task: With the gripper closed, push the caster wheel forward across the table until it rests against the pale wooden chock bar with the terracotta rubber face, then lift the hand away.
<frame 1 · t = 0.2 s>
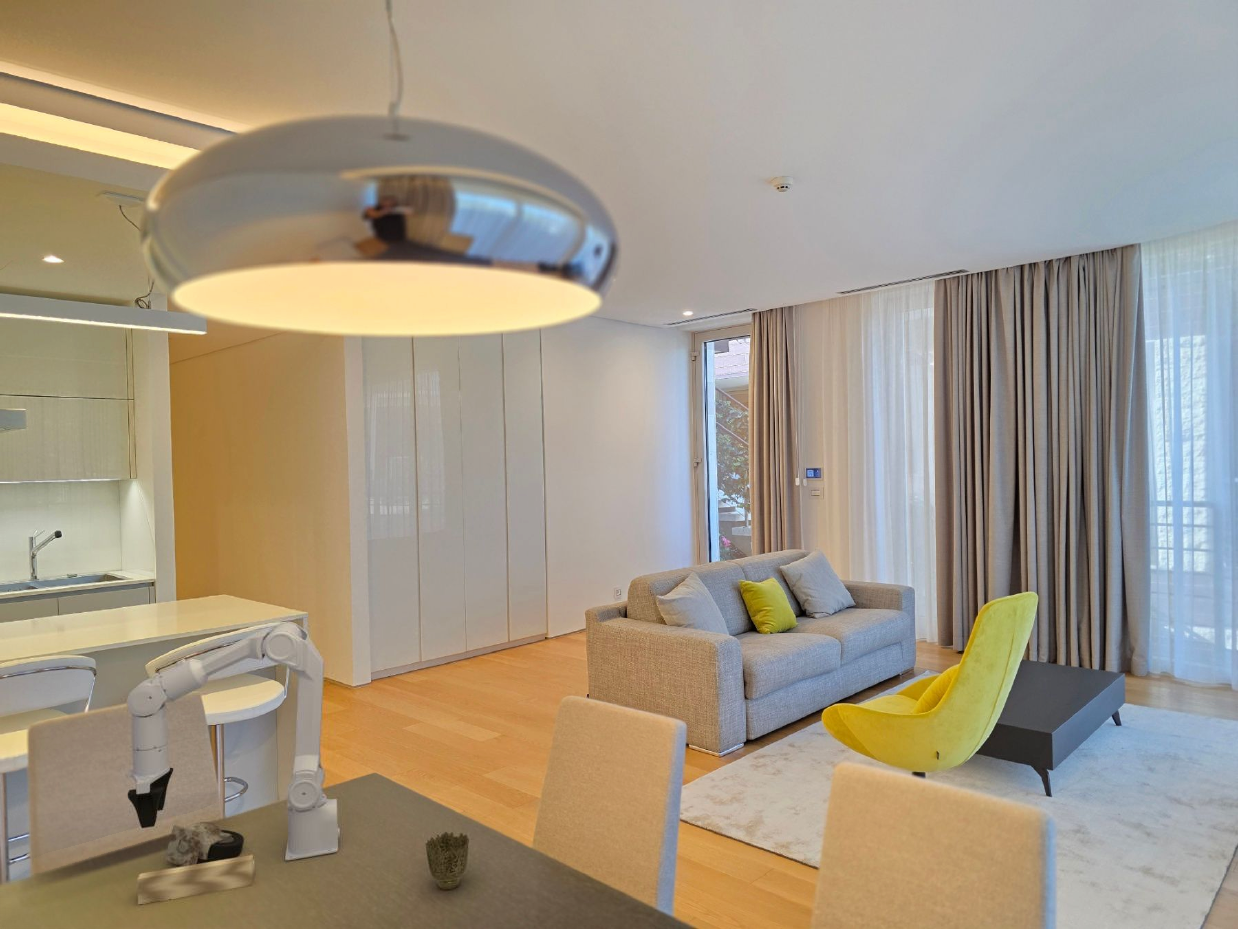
hand: (152, 818, 153), 10 cm above the table, tool pointing down, fingers open, 7 cm apart
cup: (448, 887, 144), on the table
chock bar: (198, 889, 146), on the table
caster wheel: (210, 858, 158), on the table
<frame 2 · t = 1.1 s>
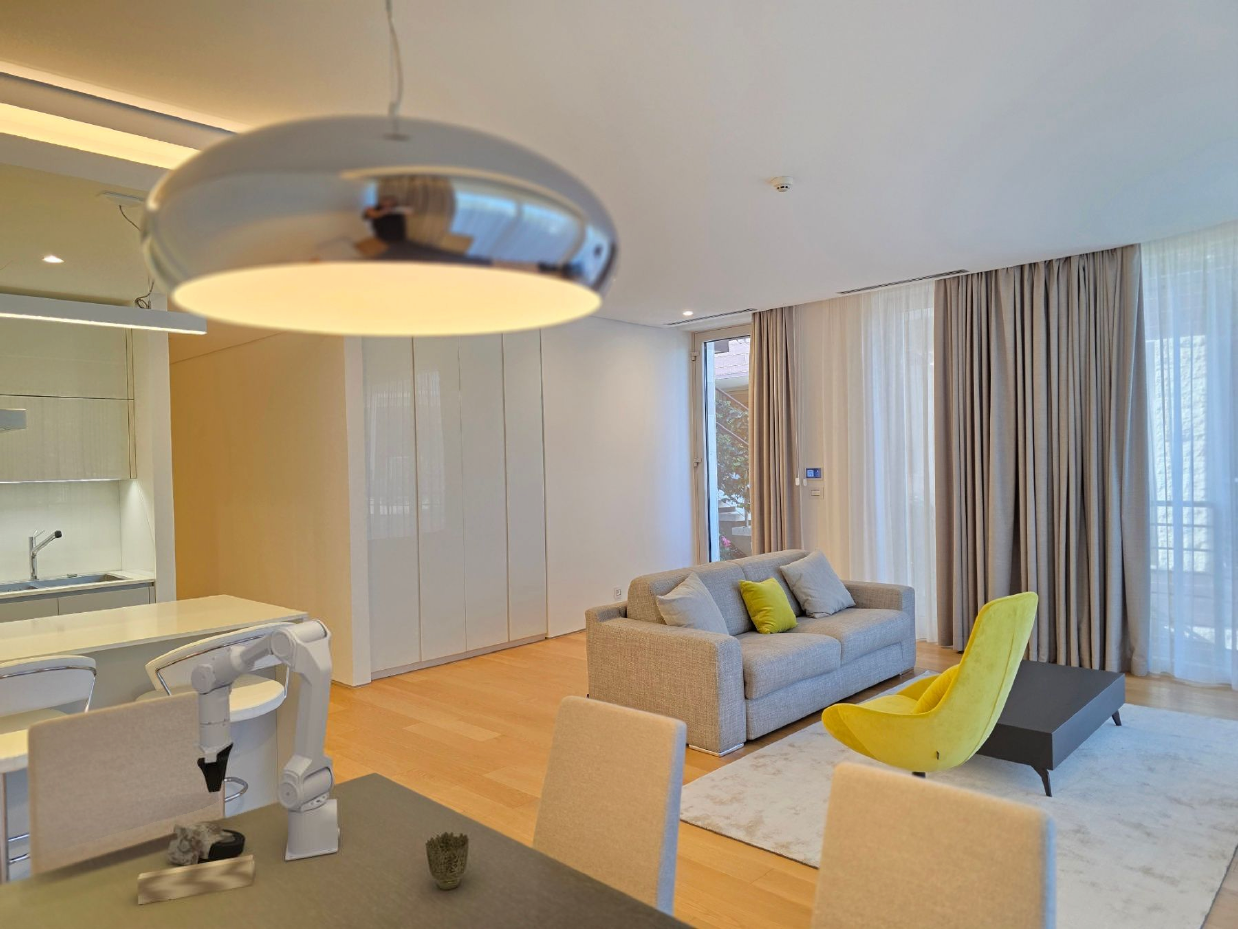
hand: (216, 786, 169), 9 cm above the table, tool pointing down, fingers open, 5 cm apart
nothing on the table moved.
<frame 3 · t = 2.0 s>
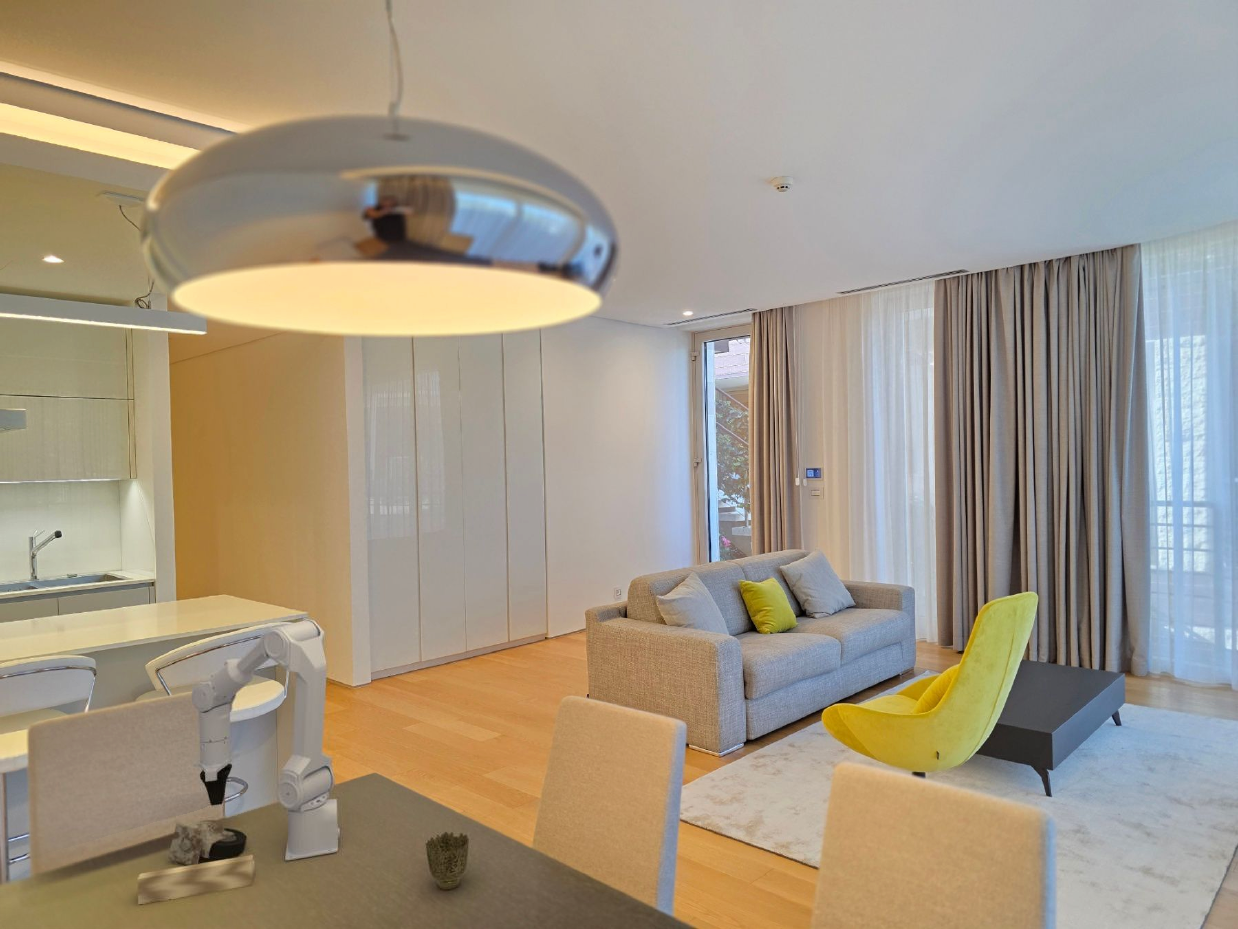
hand: (217, 803, 169), 6 cm above the table, tool pointing down, fingers closed
nothing on the table moved.
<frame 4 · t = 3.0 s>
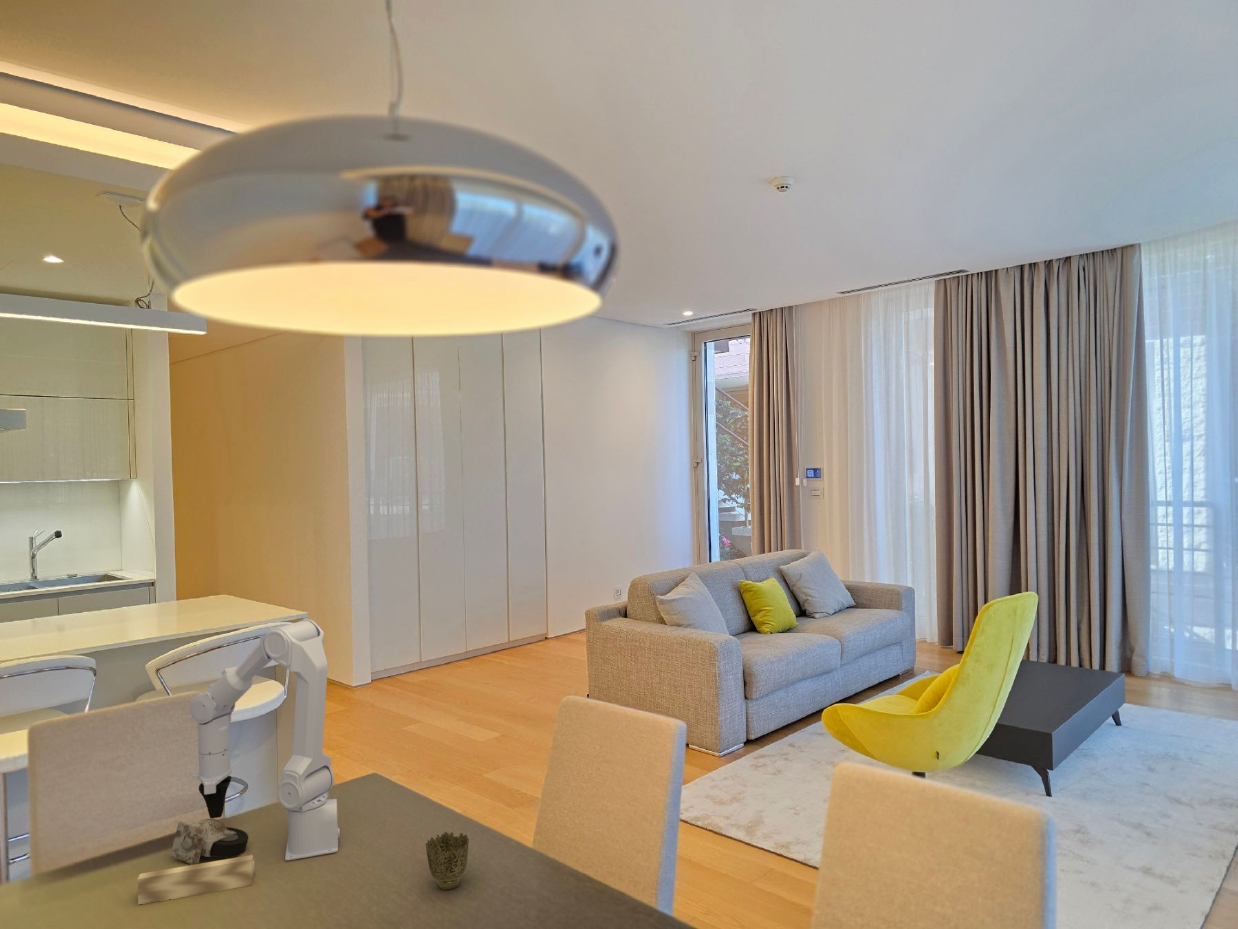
hand: (216, 816, 167), 4 cm above the table, tool pointing down, fingers closed
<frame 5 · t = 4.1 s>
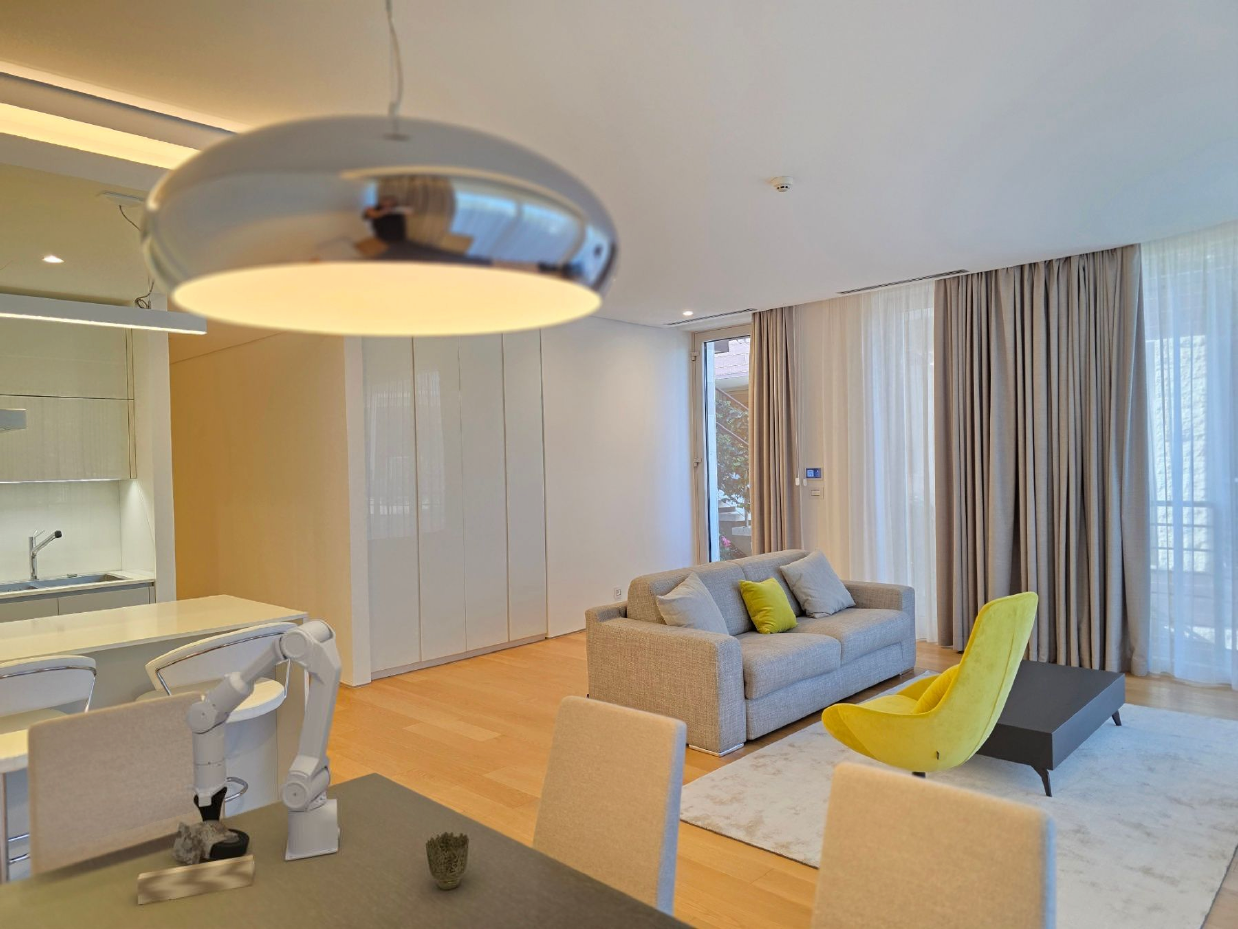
hand: (211, 829, 162), 4 cm above the table, tool pointing down, fingers closed
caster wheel: (216, 857, 158), on the table, touching gripper
everything else where it was.
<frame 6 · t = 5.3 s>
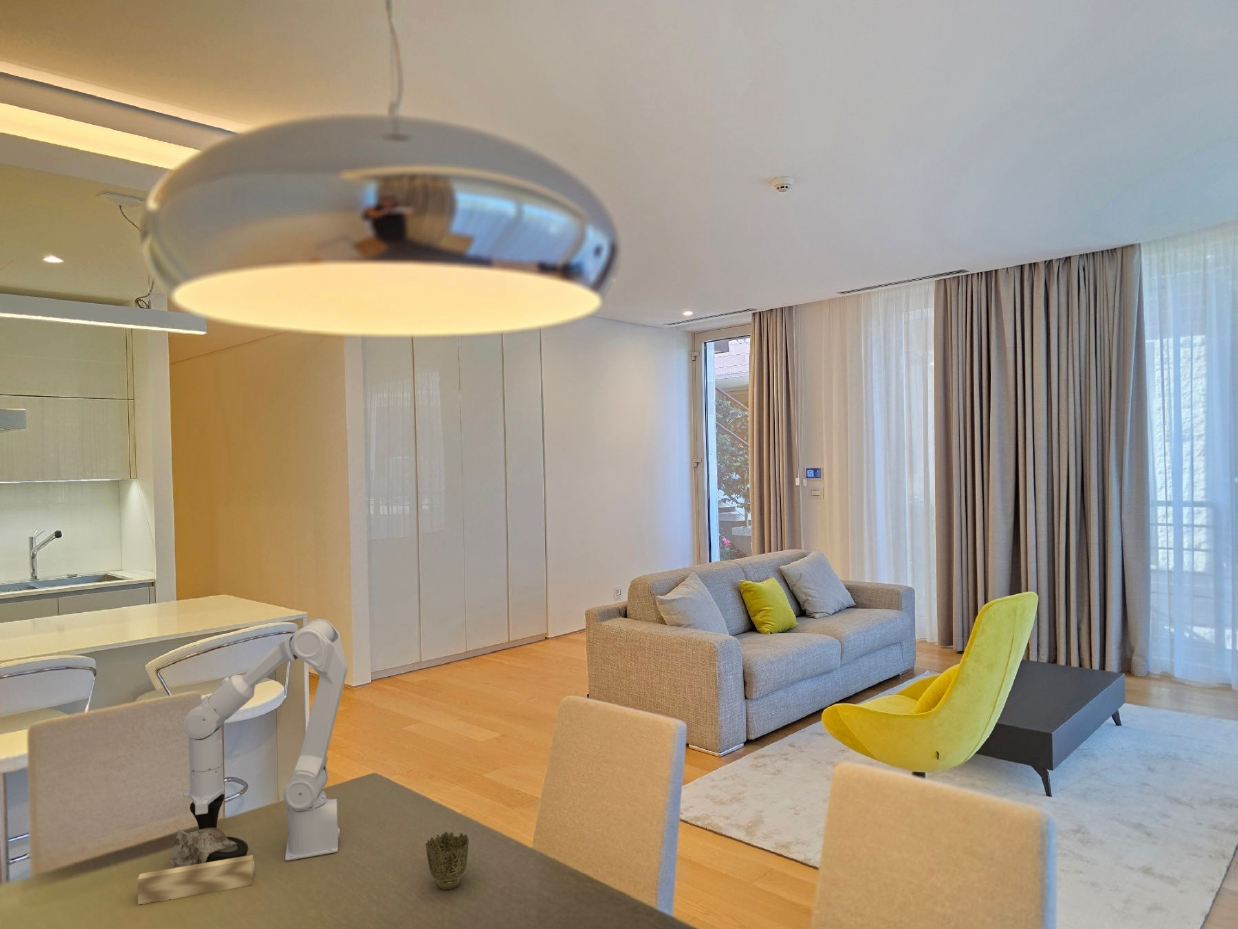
hand: (208, 837, 158), 4 cm above the table, tool pointing down, fingers closed
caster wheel: (214, 866, 155), on the table, touching gripper
everything else where it was.
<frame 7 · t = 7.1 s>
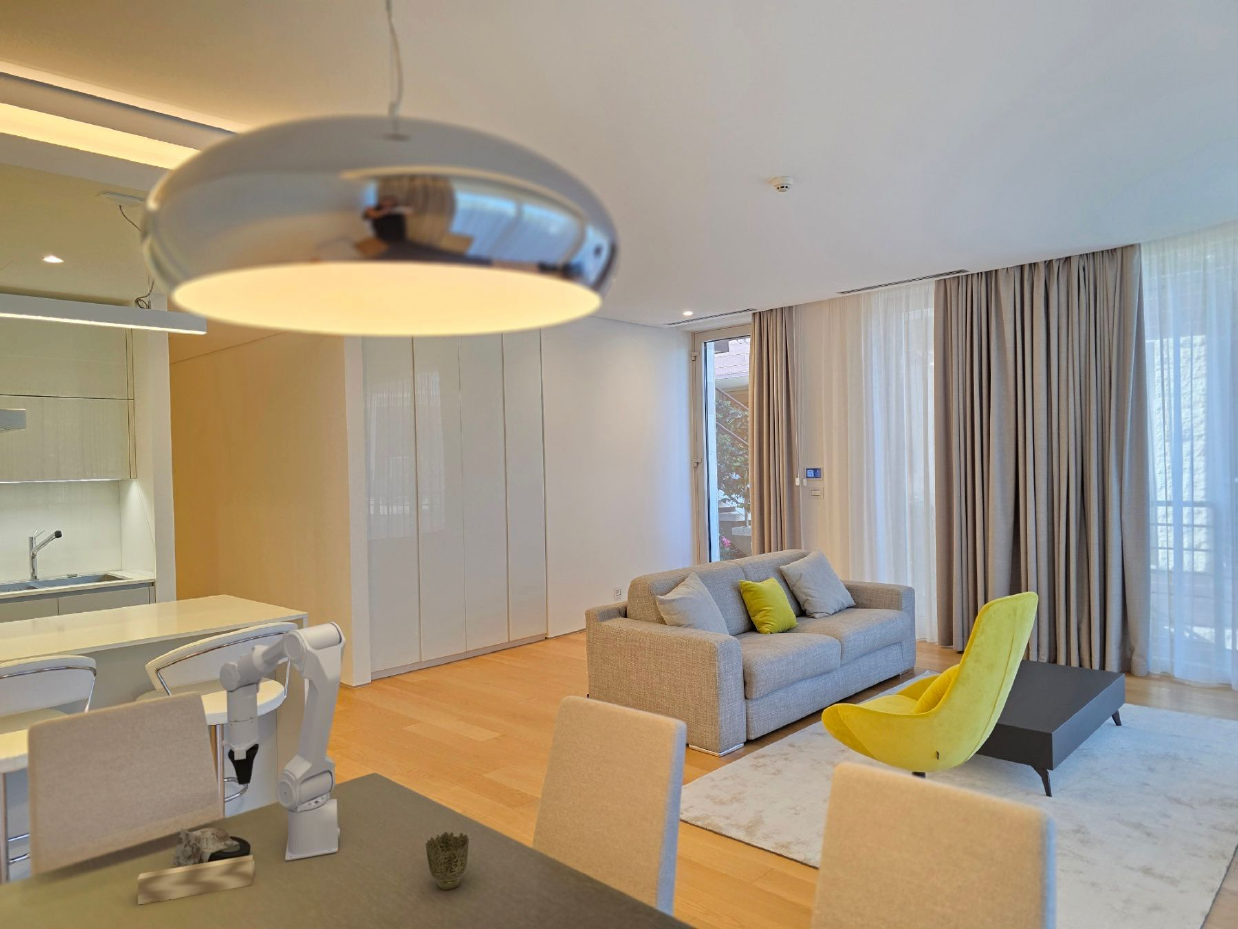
hand: (244, 783, 171), 9 cm above the table, tool pointing down, fingers closed
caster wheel: (217, 865, 155), on the table
everything else where it was.
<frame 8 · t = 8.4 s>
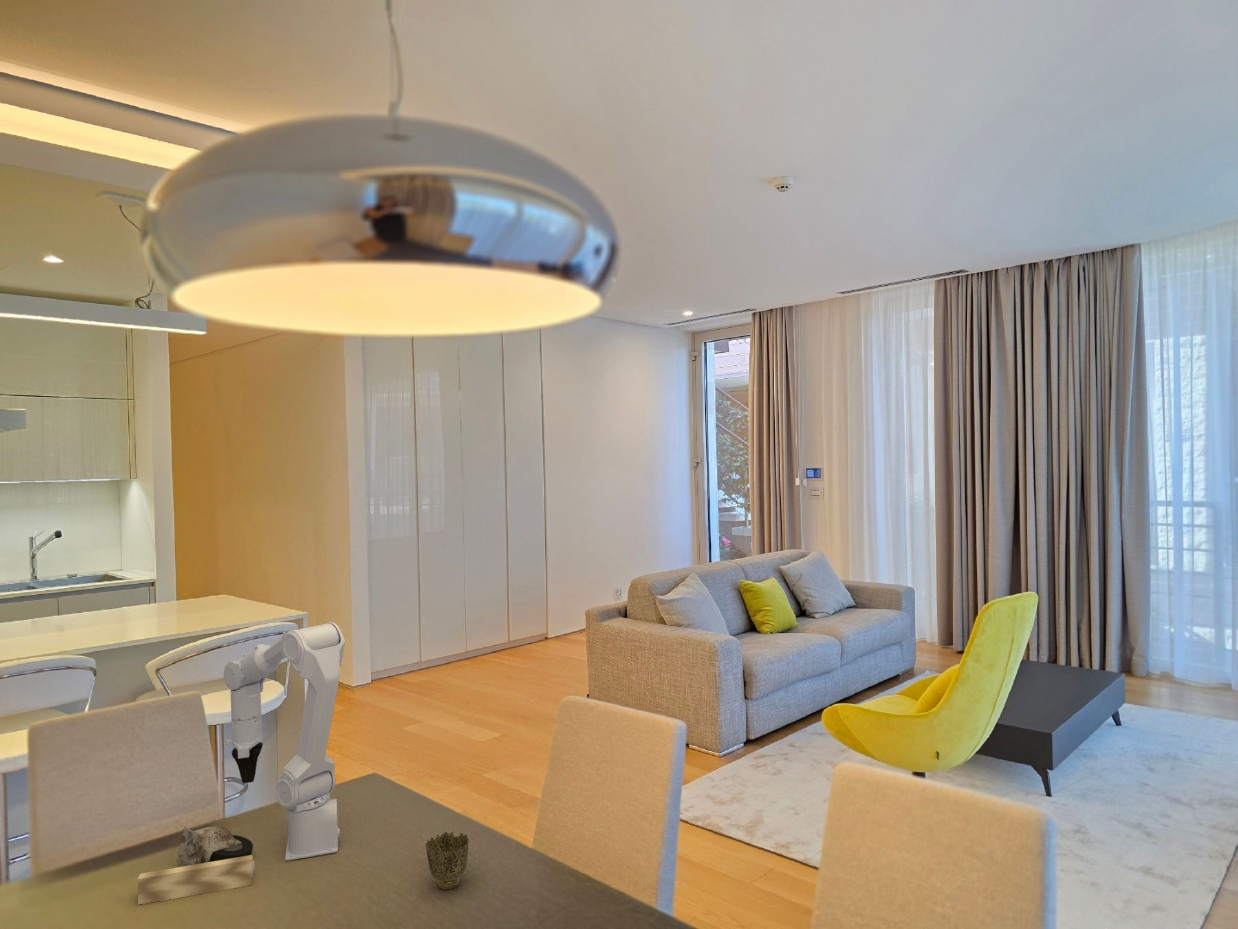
hand: (248, 781, 171), 9 cm above the table, tool pointing down, fingers closed
nothing on the table moved.
at the end: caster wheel inside the target area (3.1 cm from its centre), on the table; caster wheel moved 3.9 cm from its start; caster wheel tilted 0° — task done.
